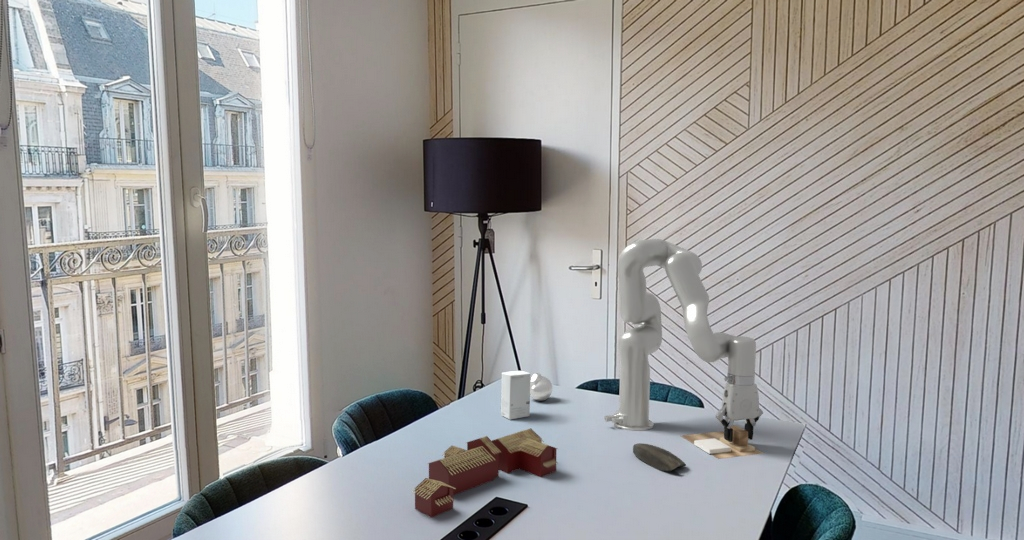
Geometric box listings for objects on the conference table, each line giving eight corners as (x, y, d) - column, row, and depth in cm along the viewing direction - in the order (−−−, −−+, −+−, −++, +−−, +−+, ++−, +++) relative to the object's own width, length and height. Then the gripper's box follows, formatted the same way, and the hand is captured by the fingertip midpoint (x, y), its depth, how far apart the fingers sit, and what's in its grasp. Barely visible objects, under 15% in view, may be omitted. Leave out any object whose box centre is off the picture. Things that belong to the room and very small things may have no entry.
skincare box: (509, 420, 233) (509, 375, 232) (499, 415, 238) (500, 372, 237) (530, 416, 238) (531, 372, 236) (520, 411, 243) (521, 368, 241)
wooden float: (740, 452, 204) (740, 435, 203) (719, 440, 213) (720, 424, 213) (754, 450, 205) (755, 433, 205) (733, 439, 215) (734, 423, 214)
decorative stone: (689, 472, 191) (689, 457, 191) (672, 477, 187) (672, 462, 187) (643, 452, 205) (644, 438, 205) (627, 457, 202) (627, 442, 201)
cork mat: (718, 460, 199) (718, 458, 199) (680, 437, 218) (680, 435, 217) (763, 455, 203) (763, 453, 203) (722, 432, 222) (722, 431, 222)
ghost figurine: (527, 396, 261) (527, 369, 260) (552, 397, 260) (553, 370, 259) (525, 403, 252) (525, 375, 251) (551, 404, 251) (552, 376, 250)
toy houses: (513, 451, 206) (513, 417, 204) (567, 471, 191) (567, 434, 190) (382, 496, 174) (382, 456, 173) (435, 524, 160) (435, 481, 158)
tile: (694, 445, 209) (709, 454, 202) (694, 440, 209) (709, 449, 202) (714, 442, 211) (730, 452, 204) (714, 438, 211) (730, 447, 204)
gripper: (723, 384, 200) (720, 446, 202) (774, 380, 206) (771, 440, 208) (707, 378, 208) (705, 438, 209) (757, 374, 213) (755, 432, 215)
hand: (738, 438), depth 209 cm, fingers open, 6 cm apart
